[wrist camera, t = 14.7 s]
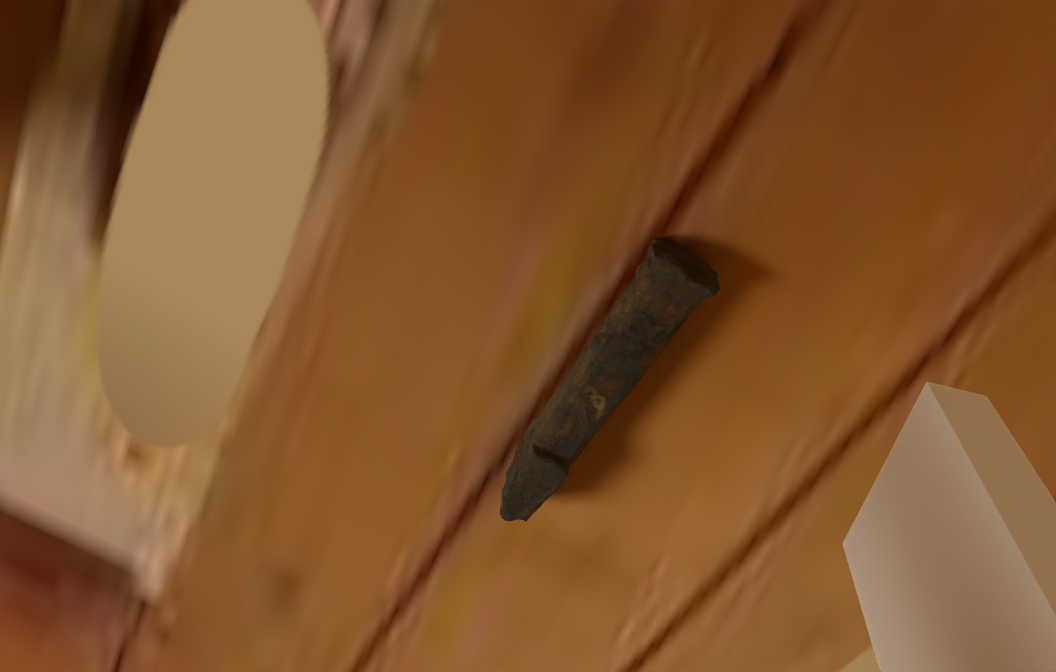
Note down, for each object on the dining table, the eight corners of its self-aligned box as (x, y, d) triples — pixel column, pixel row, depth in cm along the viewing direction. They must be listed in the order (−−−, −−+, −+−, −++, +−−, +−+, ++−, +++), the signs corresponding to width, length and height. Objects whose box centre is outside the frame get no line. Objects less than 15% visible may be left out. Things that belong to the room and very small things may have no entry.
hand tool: (657, 221, 44) (657, 257, 40) (720, 263, 44) (727, 303, 40) (469, 462, 52) (454, 512, 48) (525, 495, 53) (514, 547, 49)
